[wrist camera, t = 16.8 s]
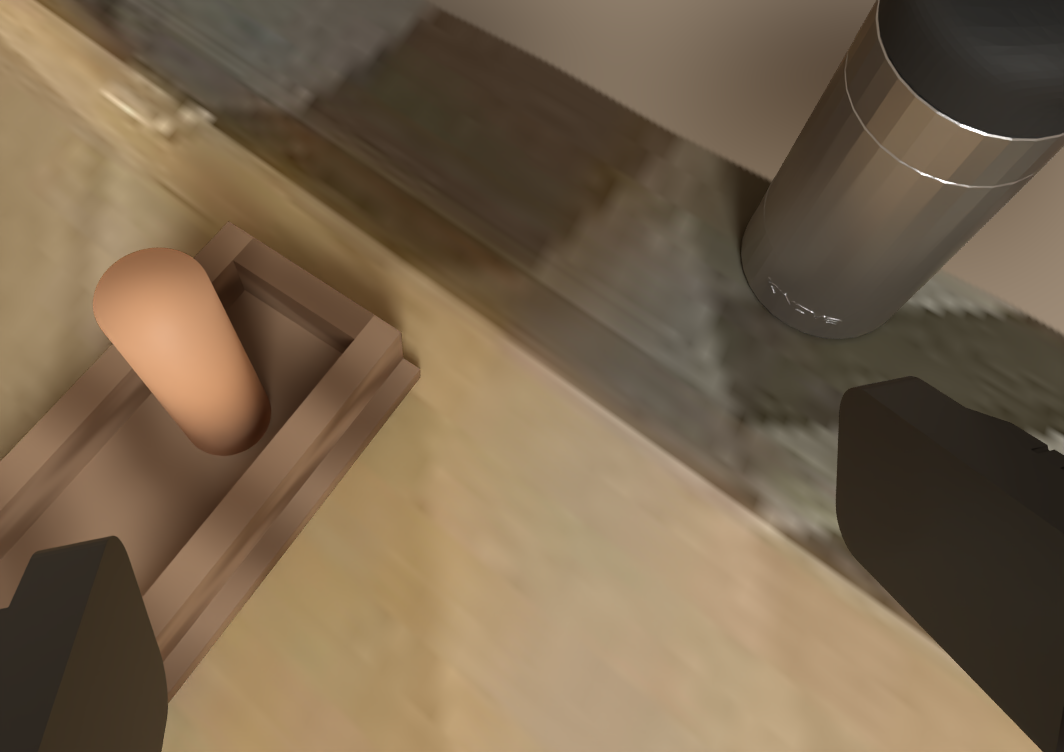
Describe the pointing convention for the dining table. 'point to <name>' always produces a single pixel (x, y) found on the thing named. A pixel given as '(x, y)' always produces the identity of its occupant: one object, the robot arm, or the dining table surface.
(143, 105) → the dining table surface
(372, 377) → the slot board
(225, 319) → the orange rounded cylinder
